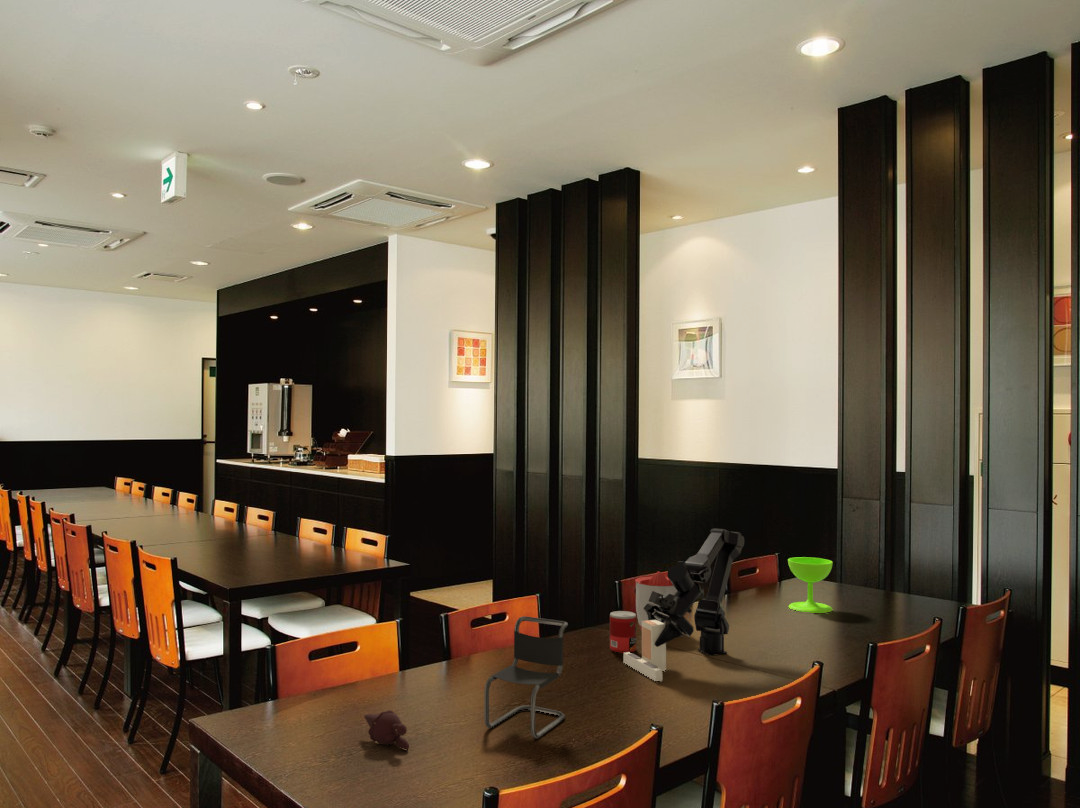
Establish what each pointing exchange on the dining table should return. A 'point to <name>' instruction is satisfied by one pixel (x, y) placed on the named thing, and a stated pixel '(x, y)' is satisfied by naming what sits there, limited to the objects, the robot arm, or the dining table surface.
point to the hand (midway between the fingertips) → (649, 642)
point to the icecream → (387, 728)
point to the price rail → (643, 666)
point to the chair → (536, 652)
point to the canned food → (623, 631)
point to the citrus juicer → (645, 589)
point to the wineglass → (810, 581)
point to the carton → (653, 643)
